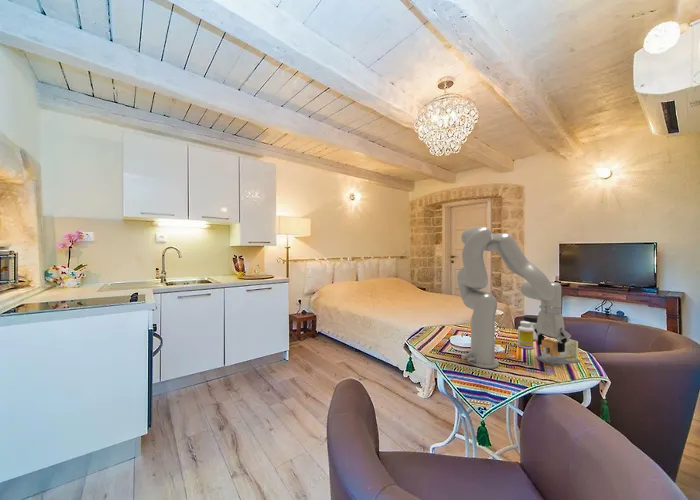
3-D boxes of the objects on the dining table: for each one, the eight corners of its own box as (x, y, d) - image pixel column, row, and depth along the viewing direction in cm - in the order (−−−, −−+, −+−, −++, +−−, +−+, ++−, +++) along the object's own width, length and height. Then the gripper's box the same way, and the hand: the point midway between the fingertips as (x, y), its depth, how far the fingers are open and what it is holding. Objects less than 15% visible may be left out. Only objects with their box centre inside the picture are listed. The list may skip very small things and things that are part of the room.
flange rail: (551, 365, 122) (552, 345, 122) (535, 358, 130) (535, 339, 130) (580, 362, 126) (580, 342, 126) (562, 355, 134) (562, 336, 134)
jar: (522, 334, 168) (522, 314, 168) (539, 336, 164) (539, 315, 164) (523, 338, 160) (524, 317, 160) (541, 340, 156) (541, 319, 156)
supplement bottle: (535, 349, 142) (535, 324, 142) (520, 348, 143) (521, 323, 143) (529, 345, 148) (529, 320, 148) (516, 344, 150) (516, 320, 150)
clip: (552, 356, 124) (552, 343, 124) (541, 351, 129) (541, 339, 129) (559, 355, 125) (559, 343, 125) (548, 351, 130) (548, 339, 130)
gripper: (527, 306, 135) (527, 342, 135) (563, 314, 118) (562, 355, 118) (540, 305, 136) (539, 341, 137) (577, 313, 120) (576, 354, 120)
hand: (550, 348), depth 127 cm, fingers open, 9 cm apart
